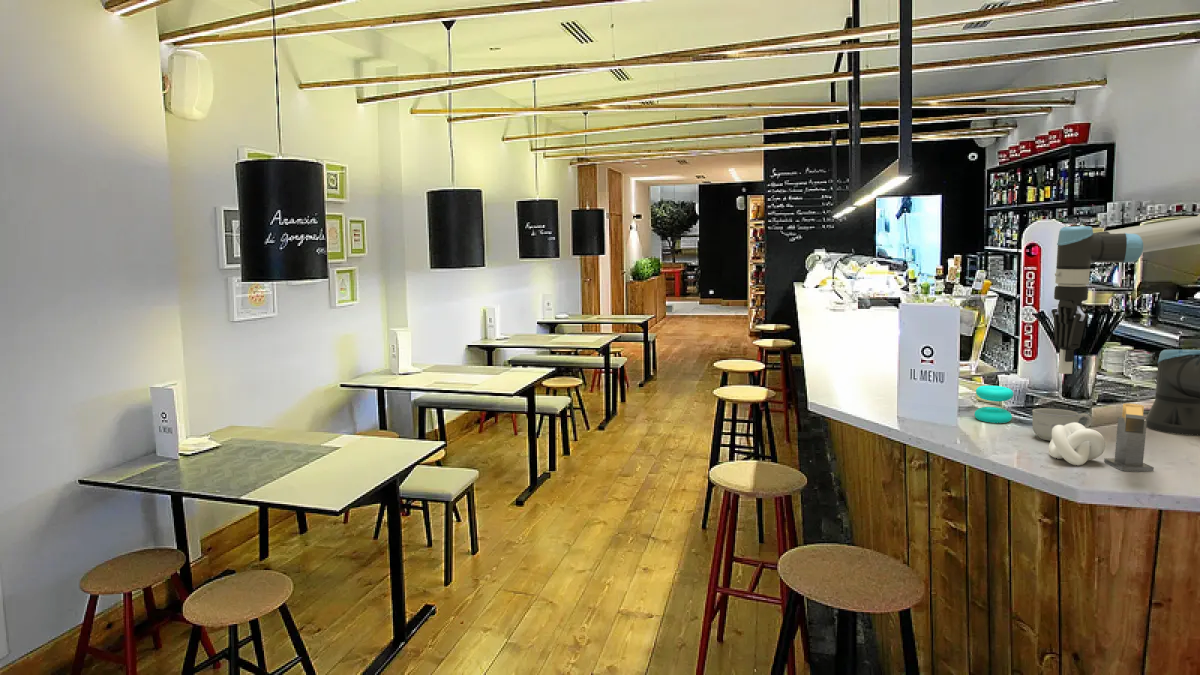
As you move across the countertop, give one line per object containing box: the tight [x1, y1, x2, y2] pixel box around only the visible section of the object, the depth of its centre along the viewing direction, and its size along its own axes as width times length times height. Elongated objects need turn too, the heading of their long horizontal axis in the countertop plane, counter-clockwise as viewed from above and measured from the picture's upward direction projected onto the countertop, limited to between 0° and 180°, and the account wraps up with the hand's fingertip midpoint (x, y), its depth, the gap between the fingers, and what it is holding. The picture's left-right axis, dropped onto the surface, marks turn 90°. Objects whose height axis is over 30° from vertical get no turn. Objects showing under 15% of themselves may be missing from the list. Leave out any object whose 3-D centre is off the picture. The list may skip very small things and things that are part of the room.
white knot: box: [1048, 422, 1106, 466], centre depth 179 cm, size 11×12×9 cm
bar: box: [1121, 403, 1145, 434], centre depth 167 cm, size 18×4×3 cm, turn 145°
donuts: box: [974, 384, 1014, 424], centre depth 221 cm, size 10×10×10 cm
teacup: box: [1032, 408, 1093, 442], centre depth 198 cm, size 14×11×8 cm
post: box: [1103, 416, 1155, 472], centre depth 174 cm, size 7×7×12 cm
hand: (1065, 373), depth 196 cm, fingers closed
